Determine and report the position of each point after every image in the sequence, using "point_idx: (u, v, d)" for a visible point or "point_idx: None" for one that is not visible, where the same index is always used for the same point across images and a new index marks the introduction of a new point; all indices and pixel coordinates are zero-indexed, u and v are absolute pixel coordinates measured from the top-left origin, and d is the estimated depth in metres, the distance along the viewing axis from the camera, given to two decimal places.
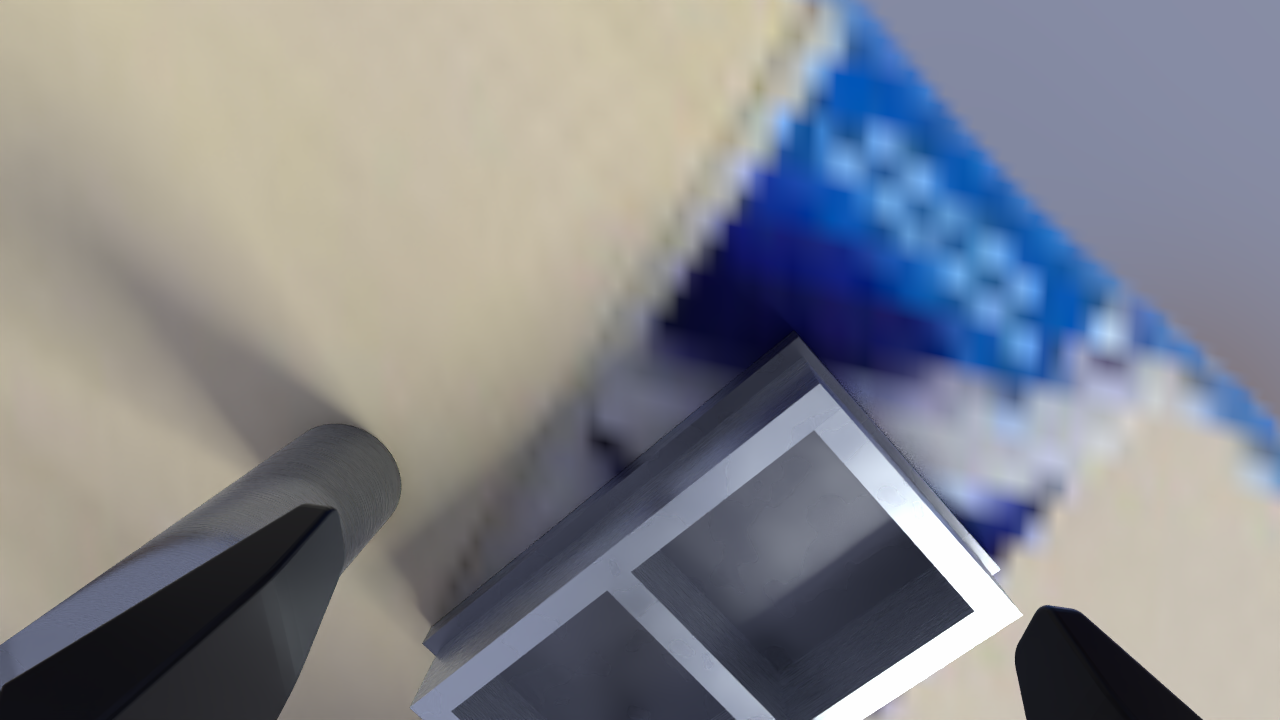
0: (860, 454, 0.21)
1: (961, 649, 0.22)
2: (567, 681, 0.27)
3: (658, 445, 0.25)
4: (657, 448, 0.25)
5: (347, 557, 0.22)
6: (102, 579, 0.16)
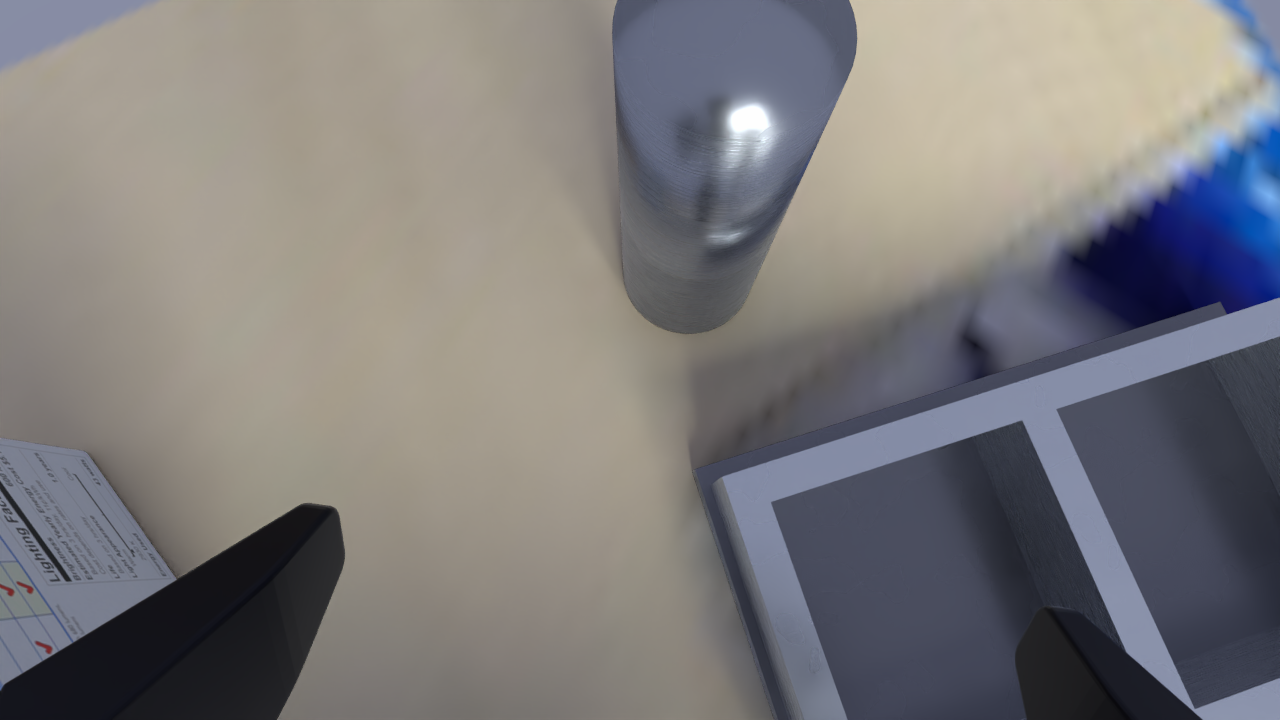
0: None
1: None
2: (846, 591, 0.21)
3: None
4: None
5: (757, 265, 0.20)
6: None
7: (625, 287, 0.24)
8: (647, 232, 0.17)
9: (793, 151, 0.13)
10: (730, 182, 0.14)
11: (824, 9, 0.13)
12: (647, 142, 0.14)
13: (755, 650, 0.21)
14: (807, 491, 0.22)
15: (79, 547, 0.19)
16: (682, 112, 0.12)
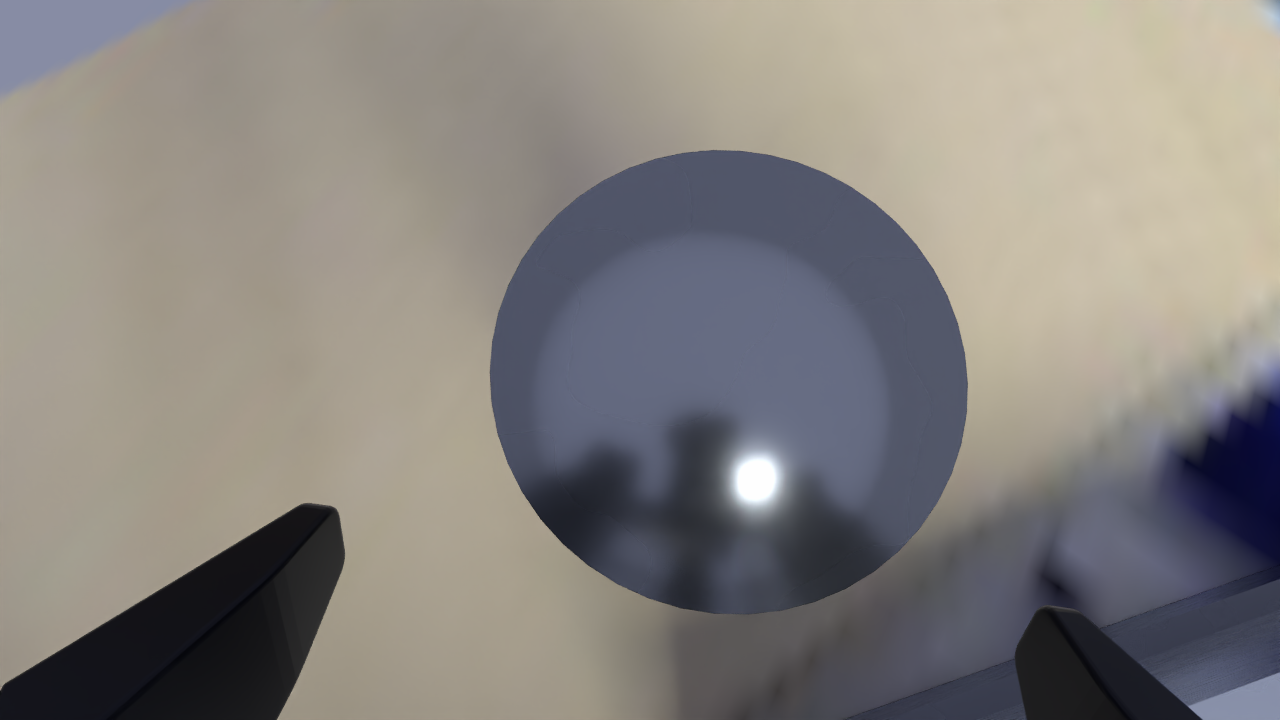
0: None
1: None
2: None
3: (1151, 616, 0.17)
4: (1156, 618, 0.17)
5: None
6: None
7: None
8: None
9: None
10: None
11: (902, 318, 0.07)
12: None
13: None
14: None
15: None
16: (623, 552, 0.06)
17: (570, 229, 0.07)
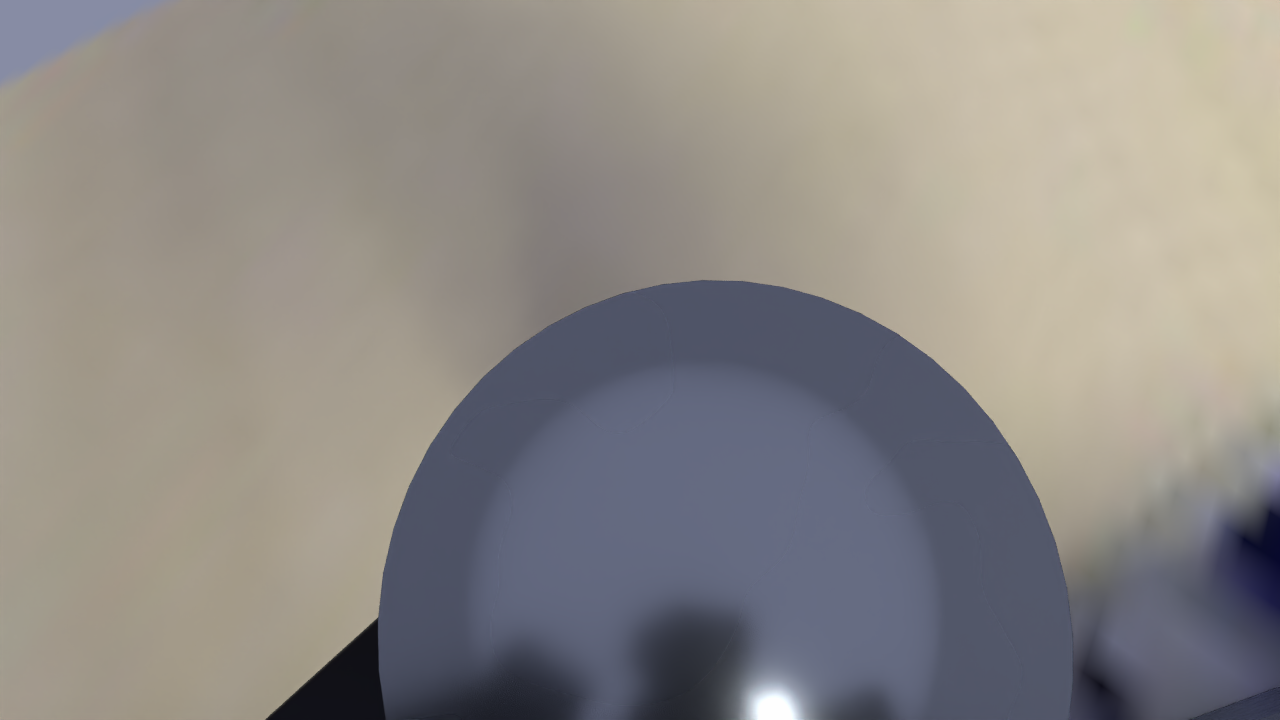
0: None
1: None
2: None
3: None
4: None
5: None
6: None
7: None
8: None
9: None
10: None
11: (974, 535, 0.05)
12: None
13: None
14: None
15: None
16: None
17: (499, 399, 0.05)
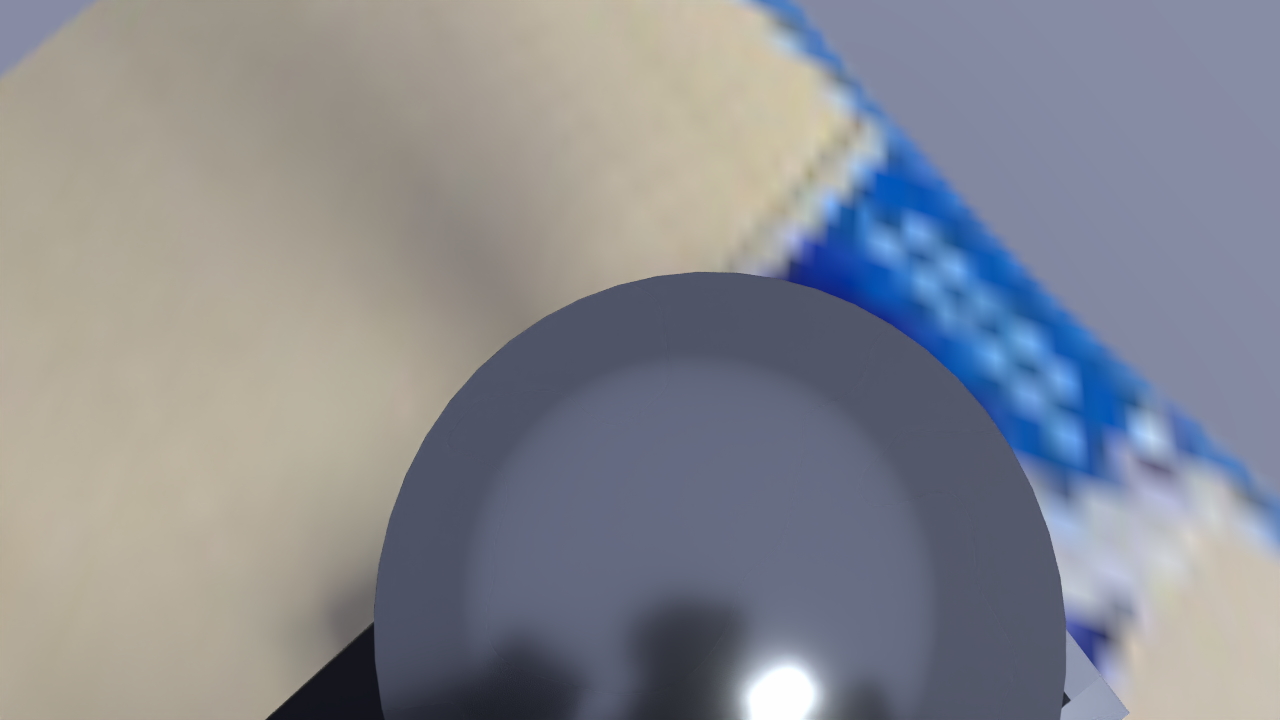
0: None
1: None
2: None
3: None
4: None
5: None
6: None
7: None
8: None
9: None
10: None
11: (969, 526, 0.05)
12: None
13: None
14: None
15: None
16: None
17: (495, 391, 0.05)
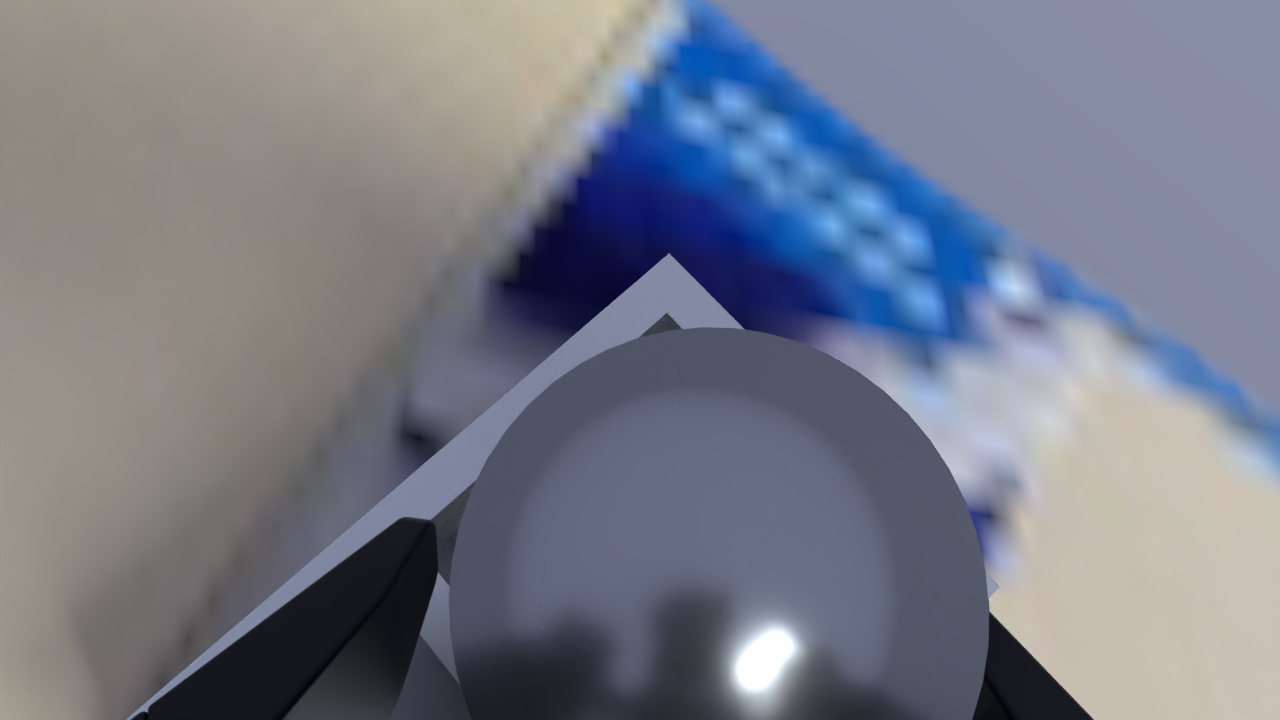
0: None
1: None
2: None
3: None
4: None
5: None
6: None
7: None
8: None
9: None
10: None
11: (915, 529, 0.06)
12: None
13: None
14: None
15: None
16: None
17: (541, 423, 0.06)
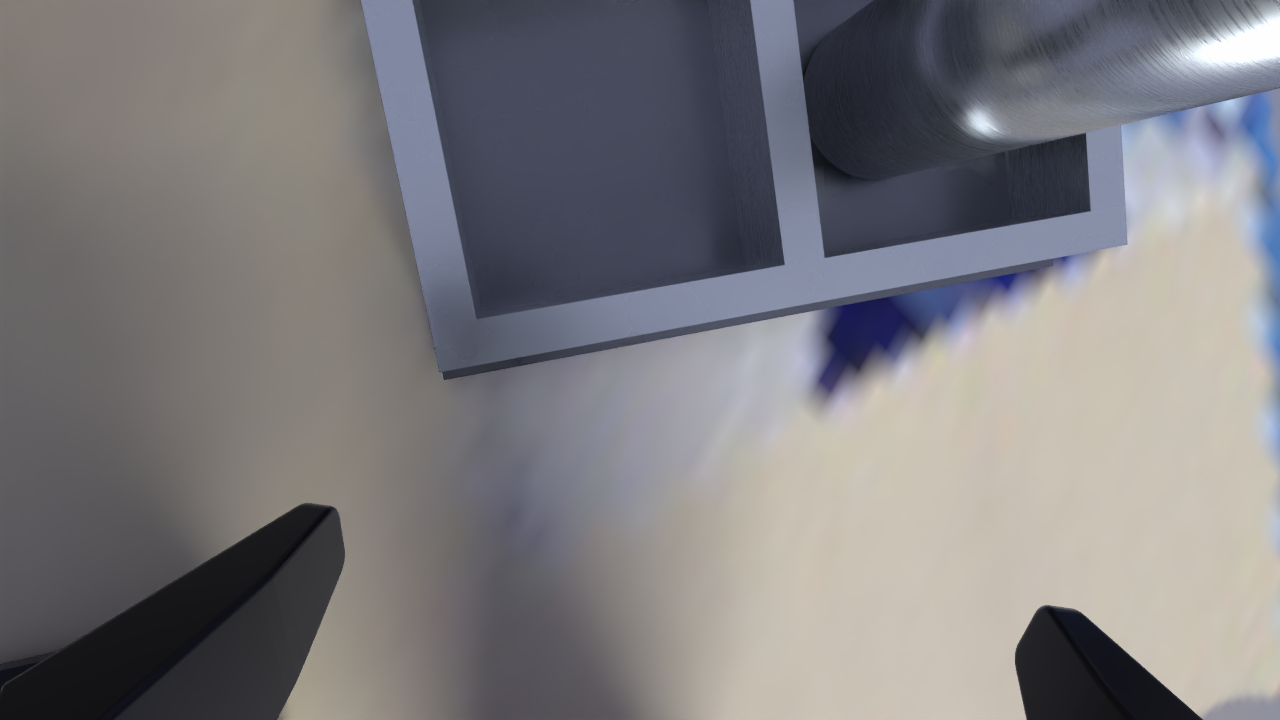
0: None
1: (1054, 252, 0.18)
2: (517, 116, 0.18)
3: None
4: None
5: None
6: None
7: (807, 68, 0.19)
8: (957, 37, 0.13)
9: None
10: (1181, 61, 0.10)
11: None
12: None
13: None
14: None
15: None
16: None
17: None
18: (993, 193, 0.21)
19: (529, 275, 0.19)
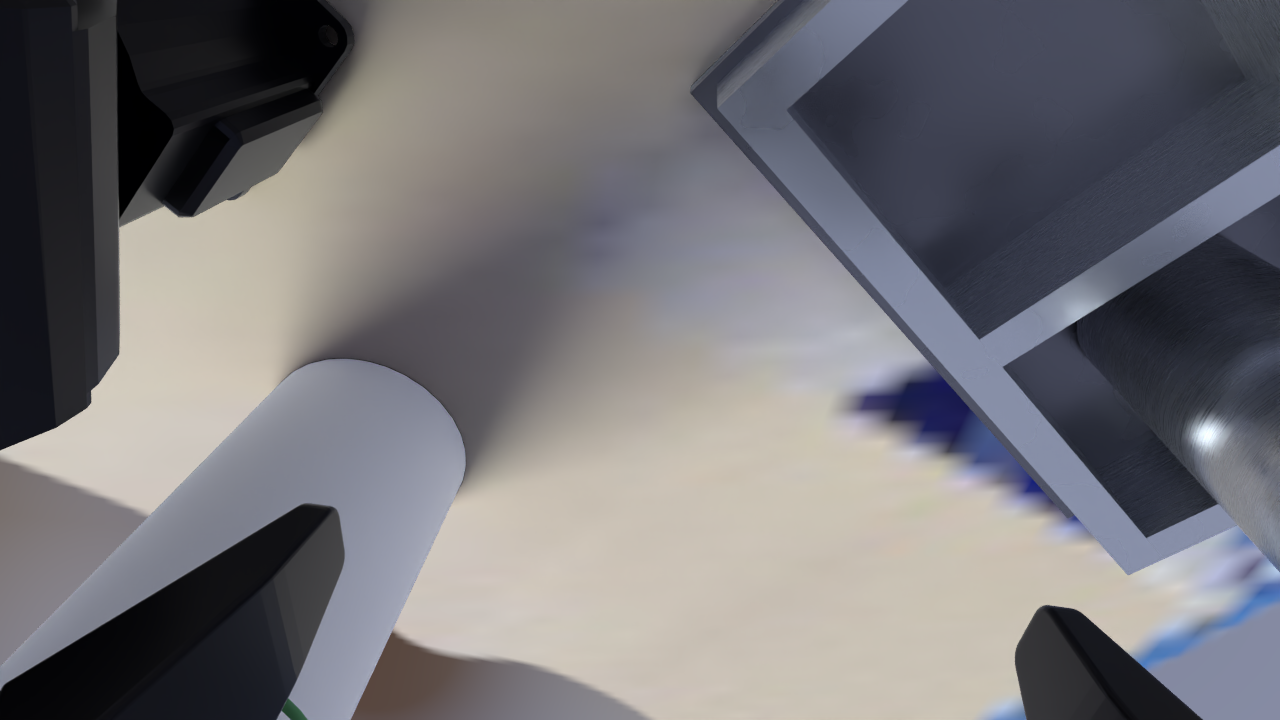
0: None
1: (1094, 529, 0.19)
2: None
3: None
4: None
5: None
6: None
7: None
8: None
9: None
10: None
11: None
12: None
13: None
14: None
15: None
16: None
17: None
18: (1113, 445, 0.22)
19: (833, 107, 0.17)
